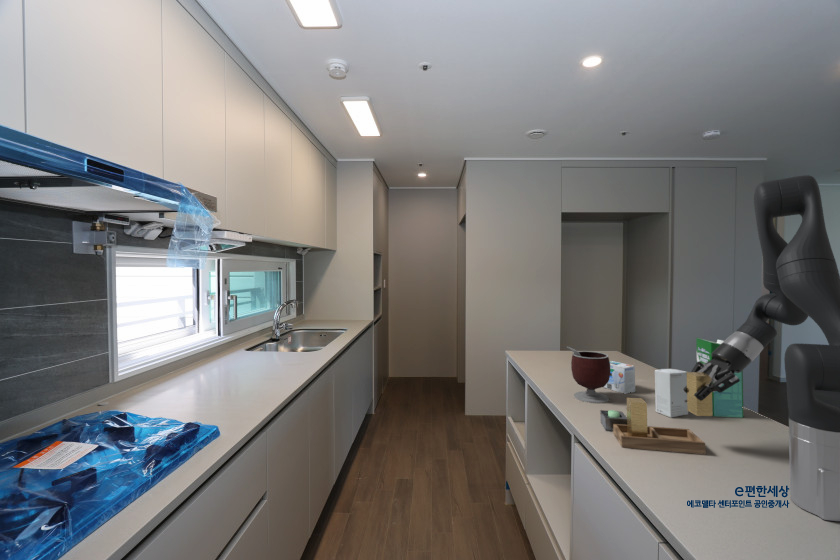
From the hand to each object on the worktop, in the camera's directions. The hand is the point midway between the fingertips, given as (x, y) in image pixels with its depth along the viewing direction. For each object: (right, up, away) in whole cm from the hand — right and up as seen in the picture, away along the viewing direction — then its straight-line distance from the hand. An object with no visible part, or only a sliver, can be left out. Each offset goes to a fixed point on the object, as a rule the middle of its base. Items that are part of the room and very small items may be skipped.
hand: (691, 395), depth 100 cm
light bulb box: (+7, -14, +50) cm, 52 cm away
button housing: (-15, -14, +13) cm, 24 cm away
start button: (-15, -13, +13) cm, 24 cm away
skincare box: (+10, -14, +23) cm, 29 cm away
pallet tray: (-9, -14, +2) cm, 17 cm away
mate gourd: (-10, -14, +41) cm, 44 cm away
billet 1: (-14, -14, +3) cm, 20 cm away
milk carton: (+27, -13, +23) cm, 38 cm away
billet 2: (+2, -5, 0) cm, 5 cm away
